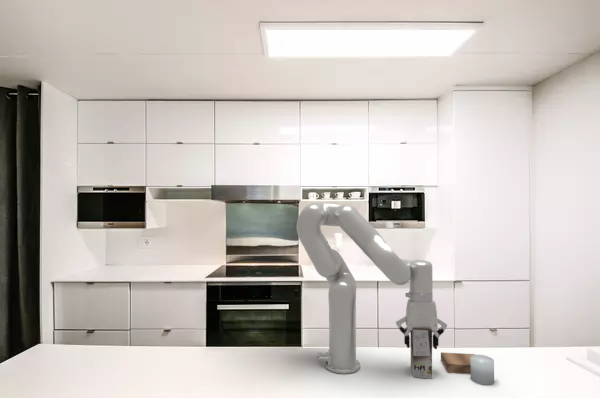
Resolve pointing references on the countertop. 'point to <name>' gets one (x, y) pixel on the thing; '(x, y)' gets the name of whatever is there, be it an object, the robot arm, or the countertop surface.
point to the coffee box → (421, 353)
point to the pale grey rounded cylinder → (482, 369)
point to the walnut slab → (457, 362)
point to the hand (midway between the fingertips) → (421, 346)
